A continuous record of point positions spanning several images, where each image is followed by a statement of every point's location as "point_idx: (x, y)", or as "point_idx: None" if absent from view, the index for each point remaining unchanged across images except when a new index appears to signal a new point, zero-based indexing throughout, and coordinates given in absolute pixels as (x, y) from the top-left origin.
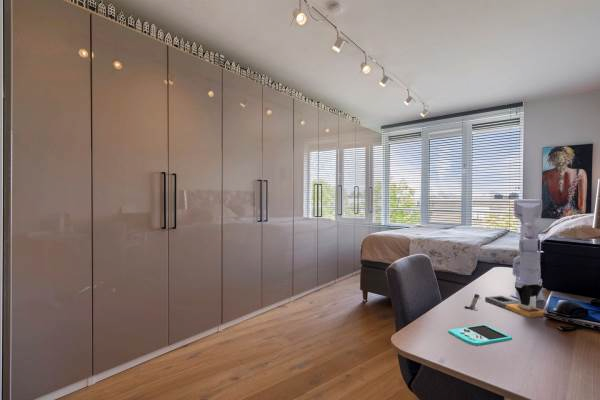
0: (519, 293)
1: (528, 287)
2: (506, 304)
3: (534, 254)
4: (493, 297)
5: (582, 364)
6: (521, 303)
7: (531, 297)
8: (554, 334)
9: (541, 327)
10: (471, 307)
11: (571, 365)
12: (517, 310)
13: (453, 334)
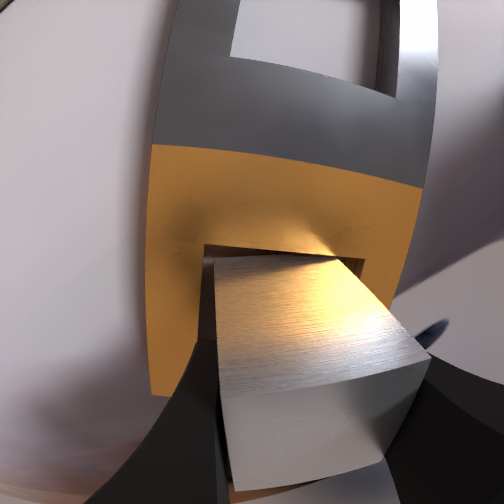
0: (142, 463)
1: (475, 472)
2: (173, 137)
3: None
4: None
5: (35, 496)
6: (195, 346)
7: (265, 481)
8: (93, 470)
9: (95, 440)
10: None
11: (12, 485)
12: (147, 290)
13: None
